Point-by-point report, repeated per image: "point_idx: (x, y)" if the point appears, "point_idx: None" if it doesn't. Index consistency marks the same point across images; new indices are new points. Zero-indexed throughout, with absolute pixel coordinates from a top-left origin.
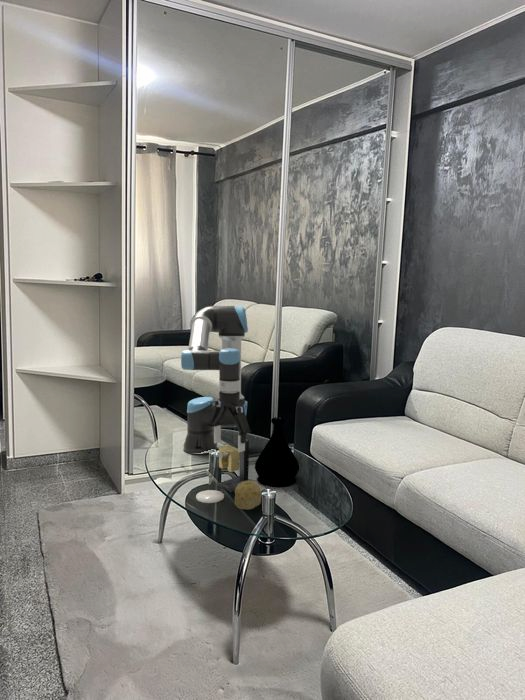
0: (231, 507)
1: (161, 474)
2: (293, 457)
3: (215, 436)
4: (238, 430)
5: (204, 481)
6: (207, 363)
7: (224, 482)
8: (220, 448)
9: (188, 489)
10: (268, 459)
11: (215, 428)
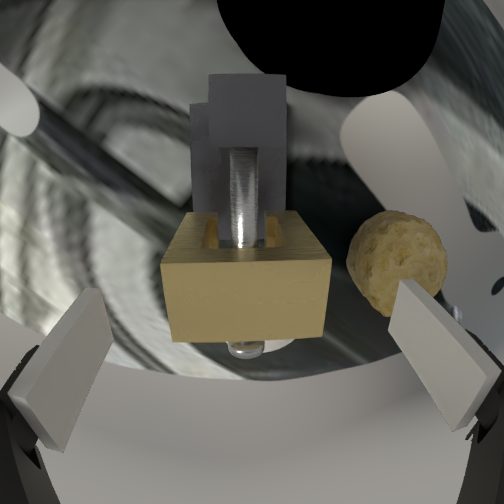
0: (362, 304)
1: (24, 311)
2: None
3: (93, 376)
4: (470, 458)
5: (128, 247)
6: None
7: (204, 211)
8: (192, 337)
9: (159, 325)
10: (389, 56)
11: (67, 436)
